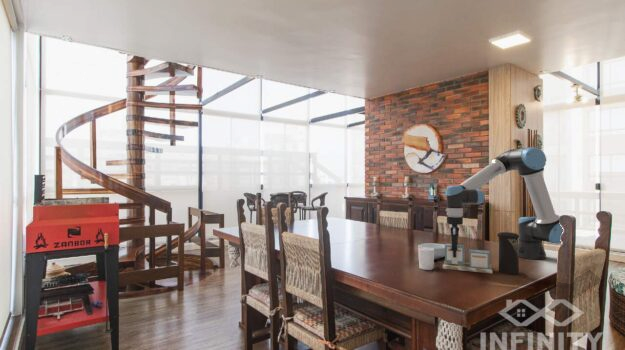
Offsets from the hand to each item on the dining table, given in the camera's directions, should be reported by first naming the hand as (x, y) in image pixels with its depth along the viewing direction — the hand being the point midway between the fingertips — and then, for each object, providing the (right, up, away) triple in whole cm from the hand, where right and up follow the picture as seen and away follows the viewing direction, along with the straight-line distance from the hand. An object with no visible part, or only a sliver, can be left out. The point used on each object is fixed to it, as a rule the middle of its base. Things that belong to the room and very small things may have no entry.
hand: (455, 262), depth 175 cm
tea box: (0, 0, 0) cm, 0 cm away
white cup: (-14, -4, +2) cm, 15 cm away
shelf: (+5, -3, -2) cm, 6 cm away
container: (+21, -4, -10) cm, 24 cm away
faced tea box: (+10, -2, -5) cm, 11 cm away
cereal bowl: (-2, -4, +25) cm, 26 cm away
